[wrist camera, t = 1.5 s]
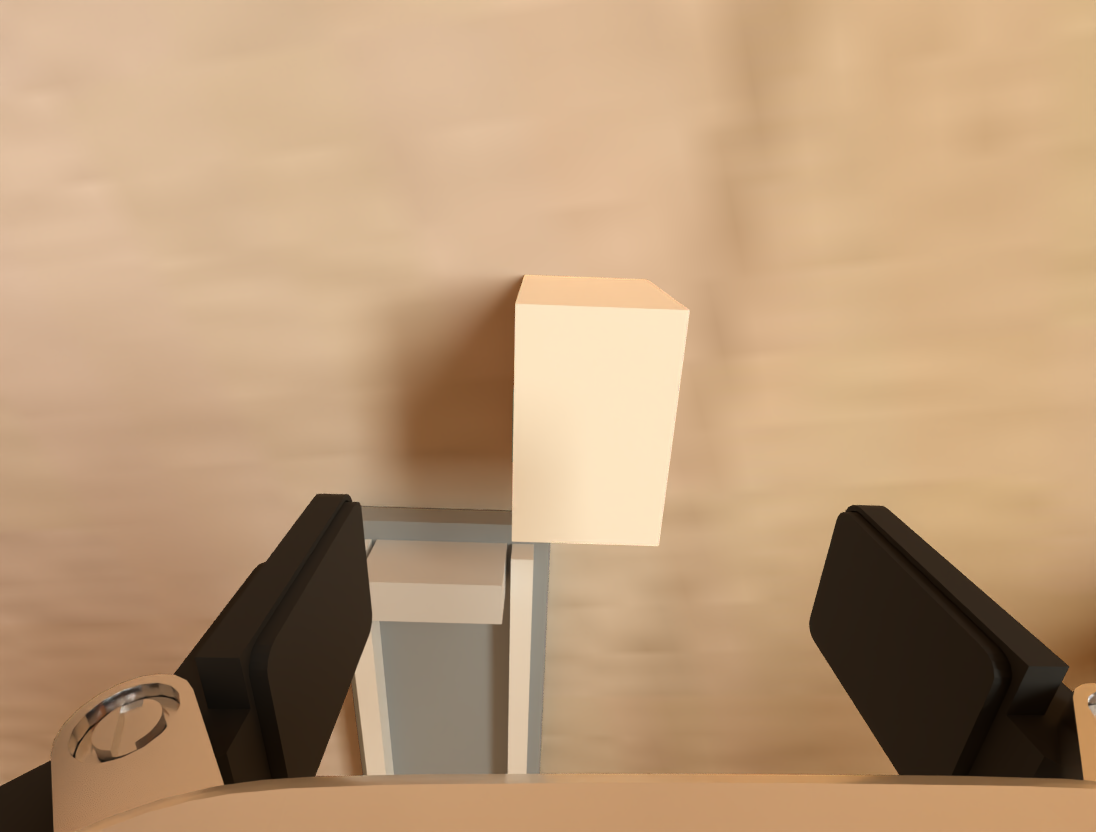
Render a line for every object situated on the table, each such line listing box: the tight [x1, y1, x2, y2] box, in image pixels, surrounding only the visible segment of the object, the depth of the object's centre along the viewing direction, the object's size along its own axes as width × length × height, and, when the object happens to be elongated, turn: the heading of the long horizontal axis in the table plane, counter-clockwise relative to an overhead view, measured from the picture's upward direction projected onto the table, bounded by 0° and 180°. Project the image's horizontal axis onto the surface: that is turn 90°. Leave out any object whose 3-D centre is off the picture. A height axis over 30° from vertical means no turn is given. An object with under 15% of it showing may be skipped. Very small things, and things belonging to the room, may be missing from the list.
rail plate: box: [351, 506, 550, 775], centre depth 28 cm, size 10×22×4 cm, turn 178°
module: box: [512, 275, 690, 546], centre depth 20 cm, size 5×8×7 cm, turn 178°
